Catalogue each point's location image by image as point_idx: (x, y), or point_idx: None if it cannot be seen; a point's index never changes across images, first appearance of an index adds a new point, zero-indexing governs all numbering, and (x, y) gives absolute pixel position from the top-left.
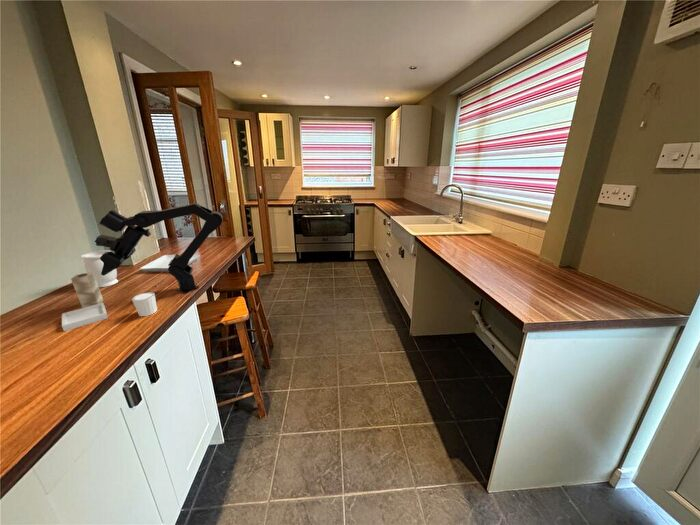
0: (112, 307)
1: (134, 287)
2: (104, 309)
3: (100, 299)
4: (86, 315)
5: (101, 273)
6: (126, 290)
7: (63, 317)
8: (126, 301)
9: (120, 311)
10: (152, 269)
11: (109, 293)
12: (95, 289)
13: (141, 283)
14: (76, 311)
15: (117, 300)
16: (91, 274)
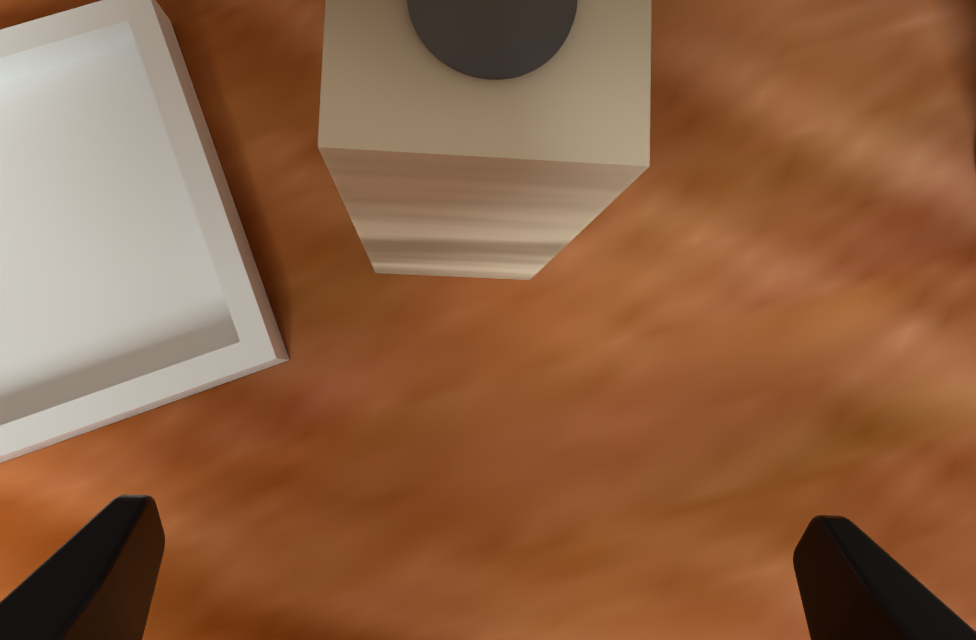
0: (237, 449)
1: None
2: (13, 442)
3: (473, 270)
4: (55, 247)
5: (98, 524)
6: (751, 466)
7: (9, 41)
8: (357, 567)
9: None
10: None
11: (734, 286)
12: (443, 238)
13: None
14: (167, 118)
15: (445, 446)
16: (525, 164)
